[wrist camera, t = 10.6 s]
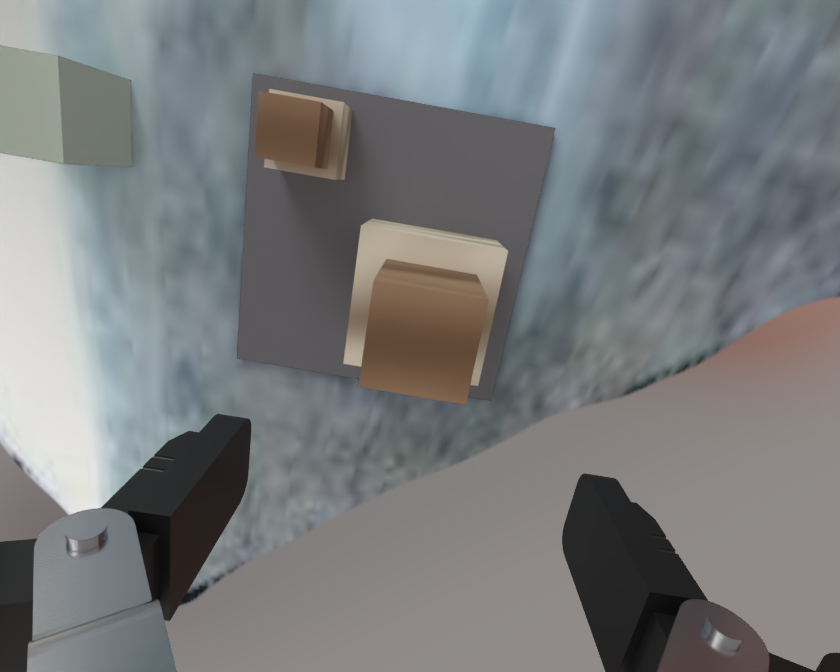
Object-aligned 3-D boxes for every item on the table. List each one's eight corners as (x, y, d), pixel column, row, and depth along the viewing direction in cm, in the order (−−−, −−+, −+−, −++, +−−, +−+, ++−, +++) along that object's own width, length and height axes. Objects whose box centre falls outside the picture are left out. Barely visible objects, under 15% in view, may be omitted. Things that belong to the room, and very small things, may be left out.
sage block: (47, 65, 29) (-47, 37, 23) (131, 80, 29) (57, 55, 23) (52, 153, 31) (-35, 146, 25) (132, 167, 31) (63, 164, 25)
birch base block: (372, 218, 31) (360, 225, 26) (496, 240, 31) (508, 250, 26) (356, 337, 33) (343, 363, 28) (471, 356, 33) (478, 386, 28)
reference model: (285, 97, 29) (248, 77, 23) (352, 109, 29) (332, 92, 23) (280, 168, 30) (244, 165, 24) (344, 180, 30) (323, 179, 24)
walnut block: (386, 258, 26) (373, 280, 21) (476, 274, 26) (488, 300, 21) (373, 344, 28) (358, 386, 22) (458, 359, 28) (465, 404, 22)
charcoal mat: (256, 75, 29) (252, 73, 28) (552, 129, 29) (555, 127, 29) (240, 355, 34) (236, 358, 34) (490, 397, 35) (491, 400, 34)
